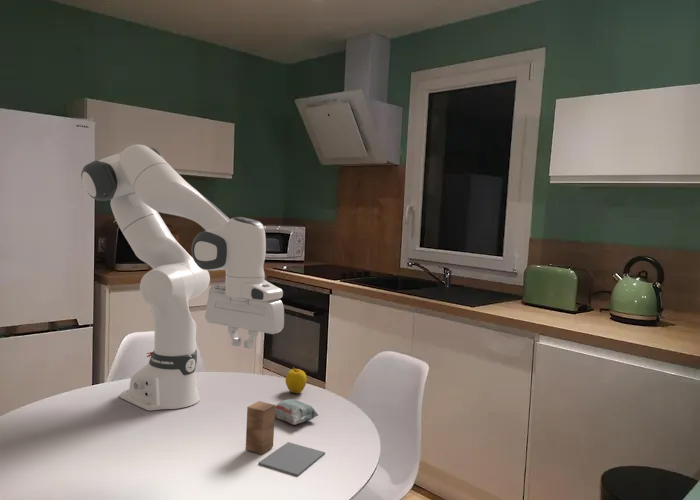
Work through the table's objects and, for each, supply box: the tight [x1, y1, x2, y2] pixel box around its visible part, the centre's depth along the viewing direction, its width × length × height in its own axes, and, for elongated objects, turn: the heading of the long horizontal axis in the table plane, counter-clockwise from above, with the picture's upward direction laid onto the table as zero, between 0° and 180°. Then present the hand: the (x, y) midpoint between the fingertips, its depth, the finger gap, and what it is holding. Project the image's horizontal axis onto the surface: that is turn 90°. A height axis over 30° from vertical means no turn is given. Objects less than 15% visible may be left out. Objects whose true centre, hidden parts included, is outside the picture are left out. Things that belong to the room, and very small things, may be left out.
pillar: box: [245, 400, 276, 455], centre depth 120 cm, size 4×4×10 cm
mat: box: [257, 441, 326, 477], centre depth 117 cm, size 10×12×1 cm
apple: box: [285, 366, 308, 394], centre depth 159 cm, size 6×6×8 cm
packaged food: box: [274, 398, 319, 426], centre depth 139 cm, size 9×12×5 cm
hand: (242, 346), depth 122 cm, fingers open, 2 cm apart
